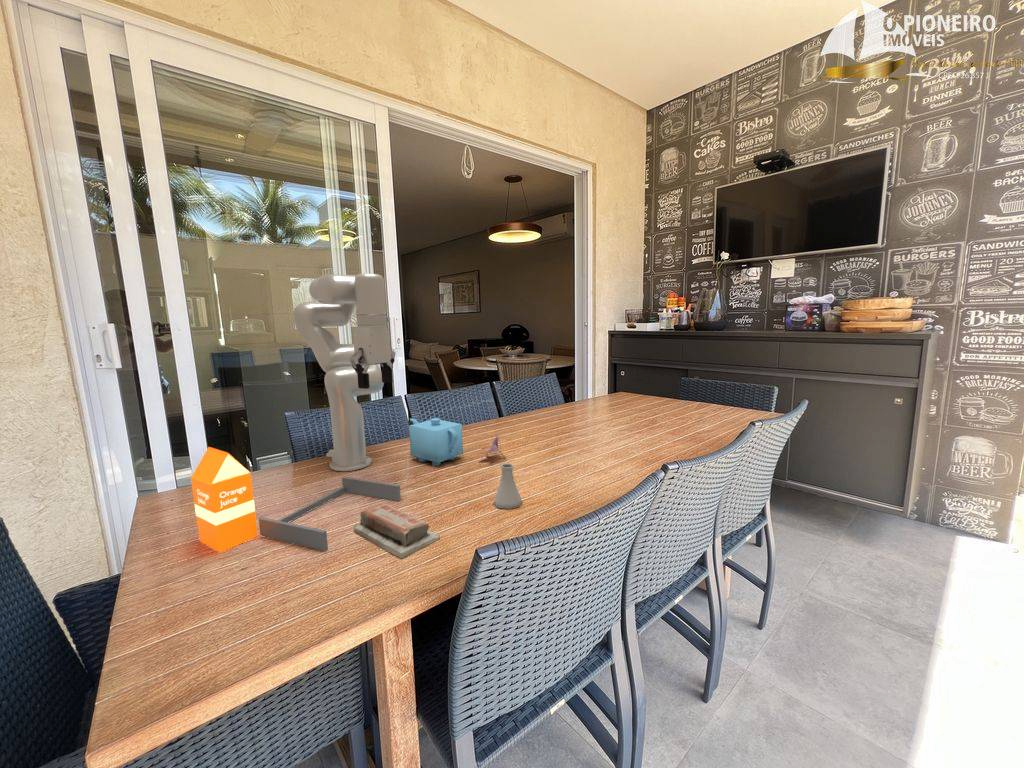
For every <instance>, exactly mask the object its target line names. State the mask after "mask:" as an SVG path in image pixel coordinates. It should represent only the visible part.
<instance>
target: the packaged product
mask: <svg viewBox="0 0 1024 768" xmlns="http://www.w3.org/2000/svg"><path fill="white" fill-rule="evenodd" d="M359 521H360V523H358V524H355V525H354V526H353V532H355V533H357V534H358V535H359V536H362V537H363V538H365V539H366V540H368V541H370V542H371V543H372V544H374V545H376V546H378V547H379V548H381V549H383V550H385V551H386V552H389V553H390V554H392V555H394V556H396V557H398V558H399V559H404V558H405V557H407V556H409V555H412V554H414V553H416V552H418V551H420V550H421V549H423V548H425V547H427V546H429V545H430V544H433V543H434V542H437V541H438V540H440V536H441V535H440V534H438V533H435V532H434V531H431V530H430V529H429V527H430V525H429V524H428V523H427V522H425V521H422V520H421V519H420V518H417V517H414V516H413V515H411V514H408V513H406V512H404V511H402V510H400V509H398V508H396V507H395V506H392V505H390V504H387V503H378V504H376V505H373V506H371V507H368V508H366V509H364V510H362V511H360V519H359Z"/></svg>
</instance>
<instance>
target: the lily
mask: <svg viewBox="0 0 1024 768" xmlns="http://www.w3.org/2000/svg"><path fill="white" fill-rule="evenodd" d="M503 433H504V431H502V432H501V434H497V435H496V436H495V438H493V441H492V442H491V443H490V442H489V443H488V444H487V445H489V446H490V448H489V450H487V451H486V452H485V453H484V454H483V455H482V456H481V458H480V460H479V461H478V463H480V462H481V460H483V458H484V456H486V457H487V456H488V454H491V453H494V452H499V454H501V456H502V457H503V458H504V460H505V461H507V458H506V457H505V456H504V454H503V453H502V452H501V450H500V449H499V439H500V437H501V436H502V434H503ZM498 435H499V436H498Z"/></svg>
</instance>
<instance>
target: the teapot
mask: <svg viewBox="0 0 1024 768" xmlns="http://www.w3.org/2000/svg"><path fill="white" fill-rule="evenodd" d="M409 420H410V421H411V423H412V424H409V426H408V430H409V432H408V434H409V447H410V448H409V450H410V456H412V457H415V458H418V462H420V463H423V462H426V461H430V462H432V464H431V465H432V466H433V467H434V466H435V467H436V466H437V467H438V466H441V465H442V463H441V462H444V461H448V460H449V461H454V460H456V458H457V457H458V456H460V455H463V454H464V446H463V444H464V443H463V424H462V423H457V422H454V421H448V420H443V419H441V418H438V417H433V418H431V419H428V420H425V421H422V422H419V421H418V419H416V418H409Z"/></svg>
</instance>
